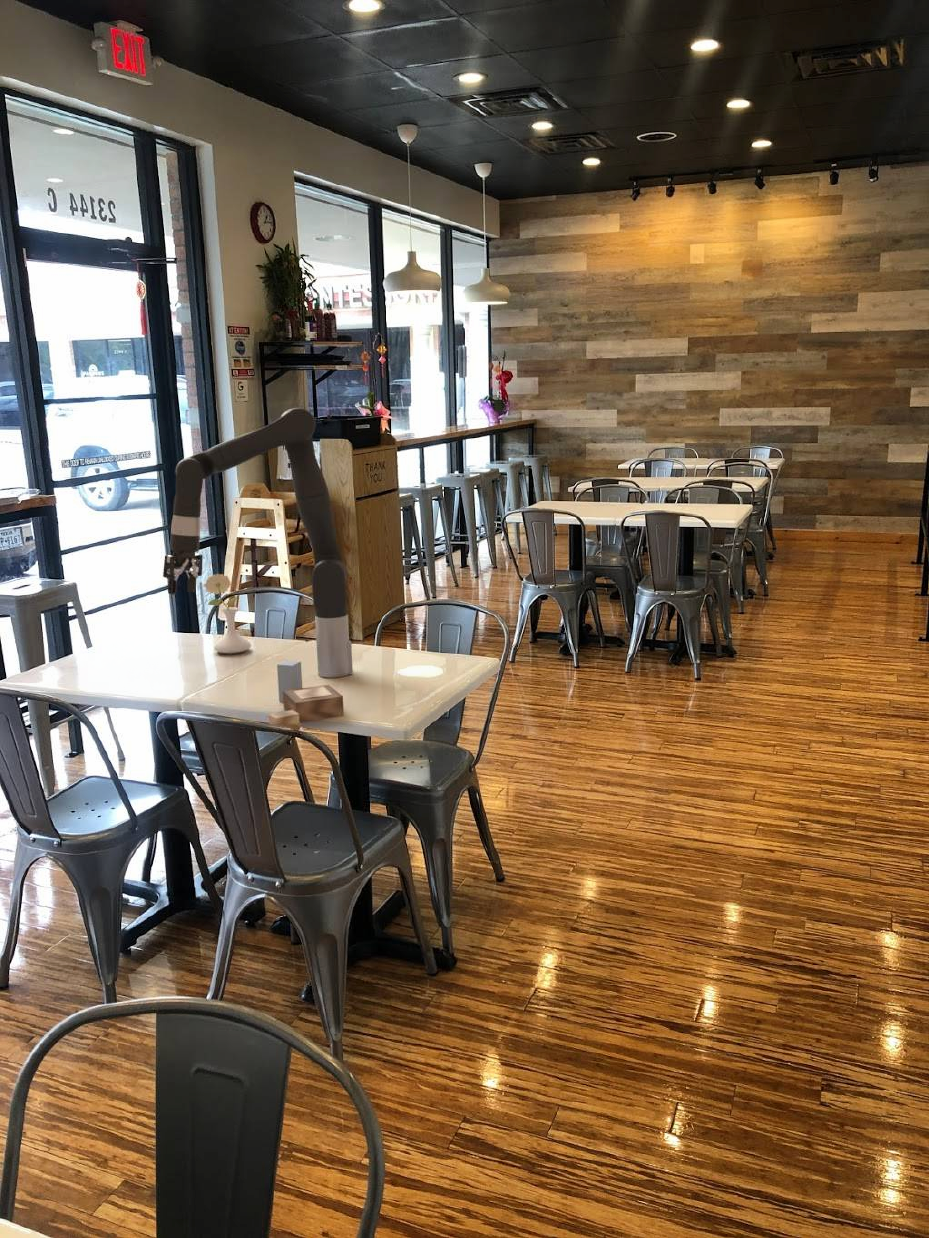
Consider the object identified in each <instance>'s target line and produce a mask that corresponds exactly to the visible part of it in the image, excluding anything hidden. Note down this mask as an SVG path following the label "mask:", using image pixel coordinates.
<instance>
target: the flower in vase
mask: <svg viewBox="0 0 929 1238" xmlns="http://www.w3.org/2000/svg"><path fill="white" fill-rule="evenodd" d="M206 579H207V580H206V581H205V583H204V585H203V586H204V588H205V590H206V592H208V593H210V594H214V595H219V598H220V599H218V598H213V599H211V600H210V601H209V602H208V604H207V605H208V606H219V605H220V604H221V603H223V605H224V606H225V607H224V608H222V609H221V611H222V612H223V614H224V615H225V618H226V624H227V625H226V626H227V627H226V628H227V629H226V633H225V634H224V635H223V636H222V637H221V638H220V639H219V640H218V641H217V642H216V643H215V644H214V646H213V649H214V651H215V652H218V653H221V654H237V653H238V654H239V653H243V652H245V651H248V650H249V649H250V648H251V647H252V645H251V642H250V641H249V640H247V639H246V638H245V637H243V636H242V635H241V634H239V633H238V632H237V630H236V627H235V626H236V625H235V622H236V621H235V619H236V614H237V611H238V610H239V608H238V607H235V606H233V607H231V606H229V605H232V604H234V603H235V602H236V601H237V599H238V596H236V597H234V598H231V599H229V600H228V601H227V602H226V603H225V602H224V601H223V599H222V597H221V596H222V594H223V593H224V592H227V591H228V590H229V588H230V586H231V584H232V583H231V580H230V578H229V577H228V575H224V574H223V573H221V574H219V573H216V574H212V575H211V576H209V577H208V578H206ZM221 593H222V594H221ZM228 606H229V607H228Z"/></svg>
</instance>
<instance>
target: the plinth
mask: <svg viewBox="0 0 929 1238" xmlns="http://www.w3.org/2000/svg"><path fill="white" fill-rule="evenodd" d="M283 700H284V702H283V710H284V711H289V710H293V711H295V712H297V713H298V714H299V723H302V722H303V723H304V722H308V721H309V722H310V721H315V720H316V721H317V720H323V719H324V720H325V719H329V718H336V717H337V718H338V717H342V716H345V714H344V713H345V712H344V695H342V694H340V693H339V691H338V690H336V689H335V688H334V687H332V686H331V685H330V684H324V685H317V686H309V687H302V688H300V689H293V690H286V691H283Z"/></svg>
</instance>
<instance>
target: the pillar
mask: <svg viewBox="0 0 929 1238" xmlns="http://www.w3.org/2000/svg"><path fill="white" fill-rule="evenodd" d="M276 671H277V687H278V688H277V689H278V701H280V703H281V702H282V703H284V700H283V691H286V690H293V689H300V688H303V675H302V674H303V673H302V672H303V671H302V661H299V660H297V661H296V660H284V661H282V662H280V663H279V662H278V664H277V665H276Z"/></svg>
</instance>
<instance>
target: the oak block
mask: <svg viewBox="0 0 929 1238" xmlns="http://www.w3.org/2000/svg"><path fill="white" fill-rule="evenodd" d="M268 723H269V724H273V725H279V726H283V727H287V728H291V729H293V730H294V731H297V730H300V729H301V727H300V724H301V722H299V714H298V713H297V712H295V711H293V710H289V711H285V710H284V711H280V712H273V713H269V714H268ZM273 733H274V734H276V735H279V734H280V733H275V732H273Z"/></svg>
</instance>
